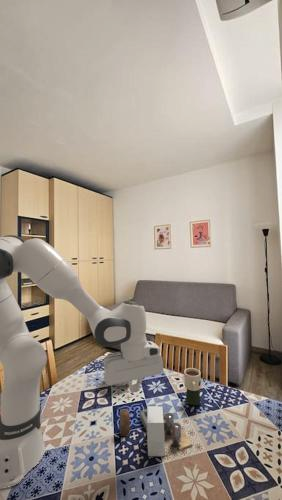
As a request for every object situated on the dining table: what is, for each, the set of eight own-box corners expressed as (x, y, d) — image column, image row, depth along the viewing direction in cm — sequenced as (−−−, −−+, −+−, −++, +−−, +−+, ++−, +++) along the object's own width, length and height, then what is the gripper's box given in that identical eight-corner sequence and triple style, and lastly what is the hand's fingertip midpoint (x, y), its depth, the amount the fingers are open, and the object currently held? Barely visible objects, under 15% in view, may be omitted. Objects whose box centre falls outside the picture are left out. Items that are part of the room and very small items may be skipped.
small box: (165, 457, 68) (164, 423, 68) (147, 456, 68) (146, 423, 68) (163, 436, 76) (162, 405, 76) (148, 435, 76) (147, 405, 76)
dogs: (176, 451, 69) (176, 433, 70) (163, 428, 79) (162, 412, 79) (192, 445, 71) (191, 427, 72) (177, 424, 81) (176, 408, 81)
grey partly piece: (148, 435, 76) (148, 428, 76) (139, 417, 85) (139, 411, 85) (171, 427, 79) (171, 420, 79) (160, 411, 88) (160, 404, 88)
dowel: (121, 437, 76) (121, 417, 76) (119, 429, 79) (118, 410, 79) (131, 434, 77) (130, 414, 77) (128, 427, 80) (127, 408, 80)
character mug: (203, 411, 87) (202, 379, 87) (186, 410, 88) (185, 378, 88) (199, 394, 98) (198, 365, 98) (184, 393, 98) (183, 365, 99)
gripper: (105, 359, 66) (105, 405, 65) (164, 348, 73) (165, 389, 72) (101, 350, 72) (102, 392, 71) (157, 341, 79) (158, 379, 78)
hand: (134, 391), depth 72 cm, fingers closed
